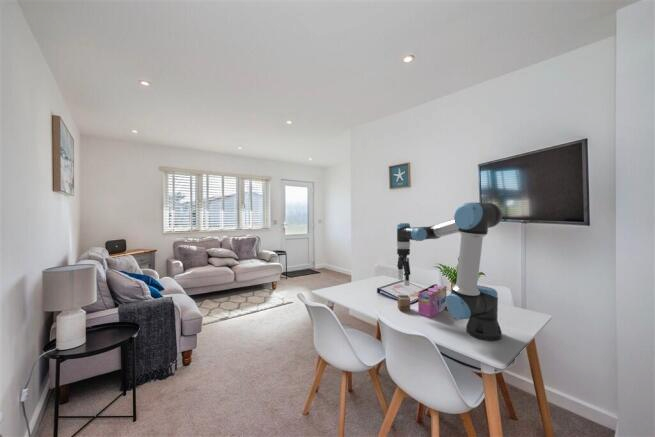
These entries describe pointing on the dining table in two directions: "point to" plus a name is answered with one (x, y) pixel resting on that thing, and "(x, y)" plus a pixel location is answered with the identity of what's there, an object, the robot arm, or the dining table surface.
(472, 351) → the dining table surface
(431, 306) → the gum box
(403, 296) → the walnut block
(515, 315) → the dining table surface
